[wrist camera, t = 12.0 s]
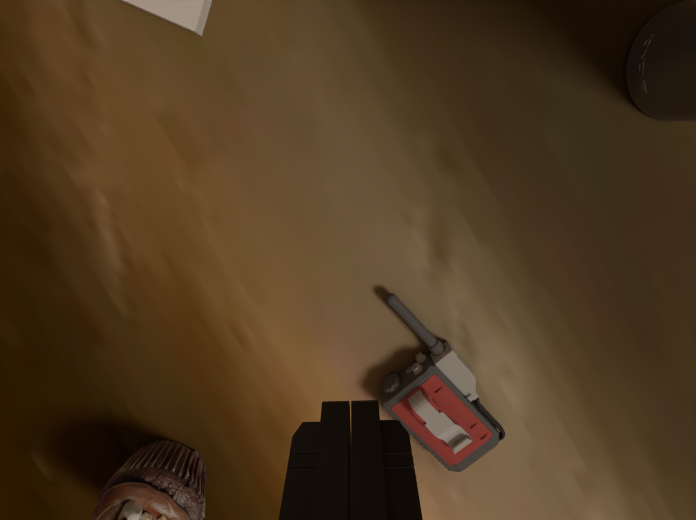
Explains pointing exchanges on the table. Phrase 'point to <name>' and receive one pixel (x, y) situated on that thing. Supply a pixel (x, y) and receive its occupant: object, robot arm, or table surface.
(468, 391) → the walkie-talkie
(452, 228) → the table surface
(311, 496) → the robot arm
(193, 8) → the white slider board
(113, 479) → the cupcake
